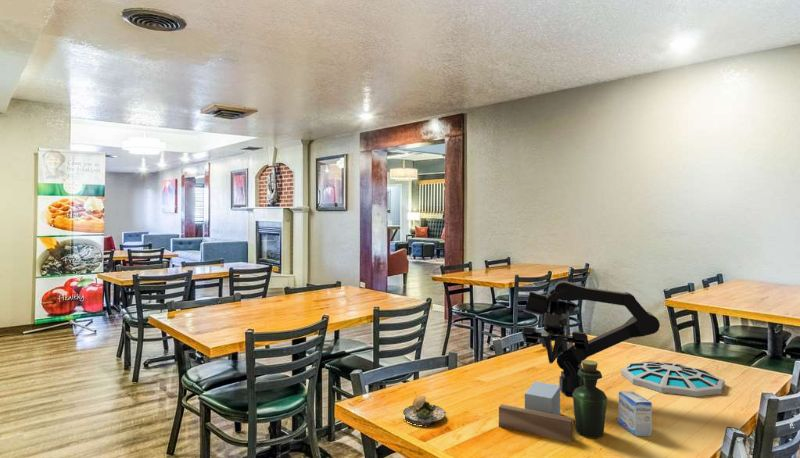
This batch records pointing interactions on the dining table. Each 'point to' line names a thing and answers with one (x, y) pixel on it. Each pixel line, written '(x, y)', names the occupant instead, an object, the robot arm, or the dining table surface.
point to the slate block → (543, 398)
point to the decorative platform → (673, 378)
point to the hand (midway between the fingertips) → (550, 362)
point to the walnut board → (536, 422)
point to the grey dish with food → (423, 412)
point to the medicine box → (635, 413)
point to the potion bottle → (589, 402)
